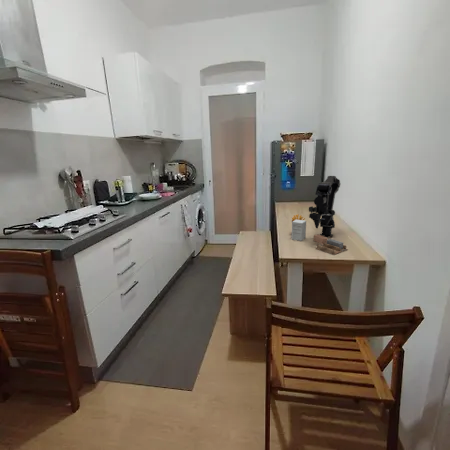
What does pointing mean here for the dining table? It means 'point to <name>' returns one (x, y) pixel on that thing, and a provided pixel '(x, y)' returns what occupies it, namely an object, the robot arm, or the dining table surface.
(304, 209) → the dining table surface
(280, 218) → the dining table surface
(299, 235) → the supplement box
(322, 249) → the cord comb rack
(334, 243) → the tall slate pillar
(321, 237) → the tall terracotta pillar
